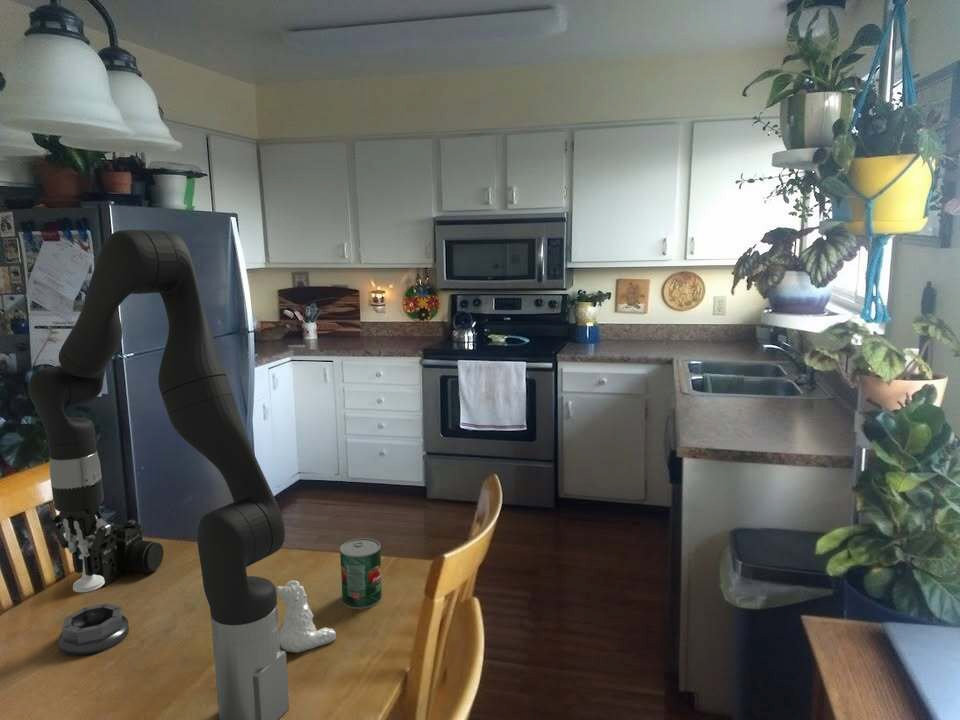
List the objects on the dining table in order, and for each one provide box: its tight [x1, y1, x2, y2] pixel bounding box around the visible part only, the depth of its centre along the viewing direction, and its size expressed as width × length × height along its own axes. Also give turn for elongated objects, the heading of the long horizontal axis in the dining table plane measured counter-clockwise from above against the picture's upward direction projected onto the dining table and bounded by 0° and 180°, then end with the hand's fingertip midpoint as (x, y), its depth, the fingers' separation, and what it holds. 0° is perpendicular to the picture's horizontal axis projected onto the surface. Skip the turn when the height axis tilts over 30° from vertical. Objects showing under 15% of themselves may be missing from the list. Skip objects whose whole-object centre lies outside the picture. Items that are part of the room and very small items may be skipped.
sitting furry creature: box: [276, 579, 337, 654], centre depth 119 cm, size 10×9×12 cm
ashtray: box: [57, 603, 130, 657], centre depth 122 cm, size 11×11×4 cm
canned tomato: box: [339, 537, 383, 610], centre depth 134 cm, size 8×8×11 cm
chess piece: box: [72, 537, 105, 593], centre depth 120 cm, size 5×5×10 cm
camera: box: [90, 519, 164, 589], centre depth 146 cm, size 14×11×10 cm
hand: (87, 572), depth 120 cm, fingers closed on chess piece
